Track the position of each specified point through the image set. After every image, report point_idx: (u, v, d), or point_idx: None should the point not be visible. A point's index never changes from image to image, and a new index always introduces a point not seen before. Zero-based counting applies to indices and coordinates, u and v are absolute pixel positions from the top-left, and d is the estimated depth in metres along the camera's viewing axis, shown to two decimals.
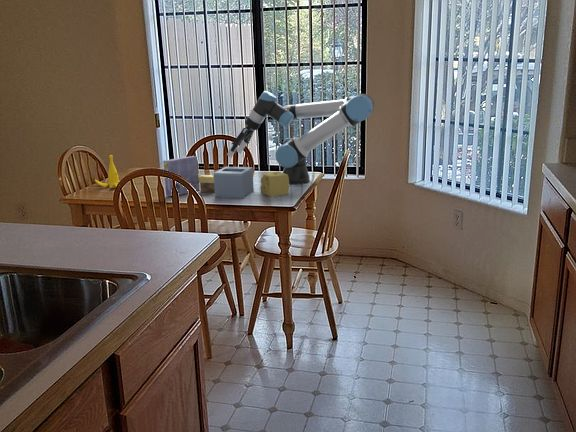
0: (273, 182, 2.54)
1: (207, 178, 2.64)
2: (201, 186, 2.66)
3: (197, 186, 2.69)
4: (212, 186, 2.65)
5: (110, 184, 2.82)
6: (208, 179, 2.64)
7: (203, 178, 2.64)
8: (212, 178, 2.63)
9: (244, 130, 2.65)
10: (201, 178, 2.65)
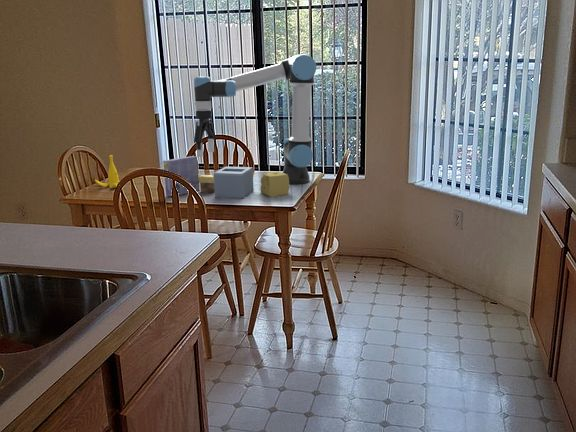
0: (273, 182, 2.54)
1: (207, 178, 2.64)
2: (201, 186, 2.66)
3: (197, 186, 2.69)
4: (212, 186, 2.65)
5: (110, 184, 2.83)
6: (208, 179, 2.64)
7: (203, 178, 2.64)
8: (212, 178, 2.63)
9: (198, 123, 2.52)
10: (201, 178, 2.65)
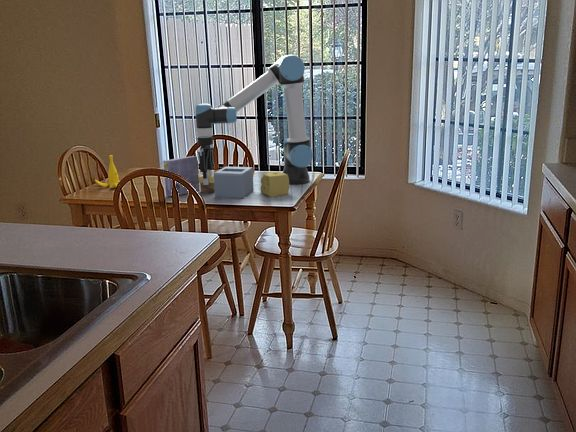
0: (273, 182, 2.54)
1: None
2: (201, 186, 2.66)
3: (197, 186, 2.69)
4: (212, 186, 2.65)
5: (110, 184, 2.83)
6: None
7: None
8: (212, 178, 2.63)
9: (200, 153, 2.56)
10: (201, 178, 2.65)
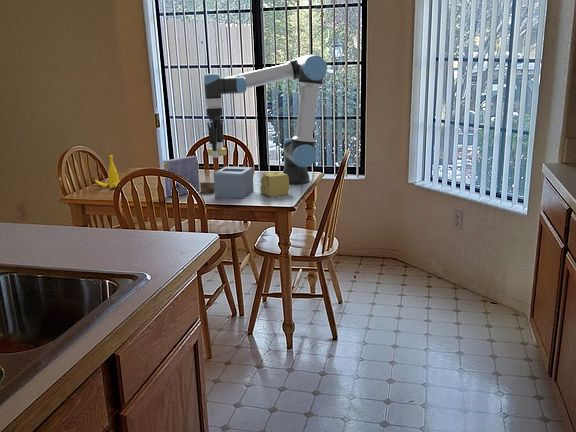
0: (273, 182, 2.54)
1: None
2: (201, 186, 2.66)
3: (197, 186, 2.69)
4: (212, 186, 2.65)
5: (110, 184, 2.83)
6: (218, 151, 2.58)
7: None
8: (222, 150, 2.57)
9: (209, 124, 2.50)
10: (210, 151, 2.58)
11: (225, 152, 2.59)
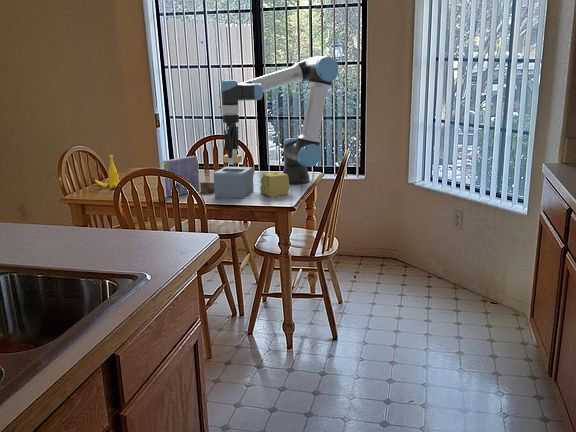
0: (273, 182, 2.54)
1: None
2: (201, 186, 2.66)
3: (197, 186, 2.69)
4: (212, 186, 2.65)
5: (110, 184, 2.83)
6: None
7: None
8: (237, 157, 2.54)
9: (226, 131, 2.47)
10: (226, 157, 2.55)
11: (240, 159, 2.56)
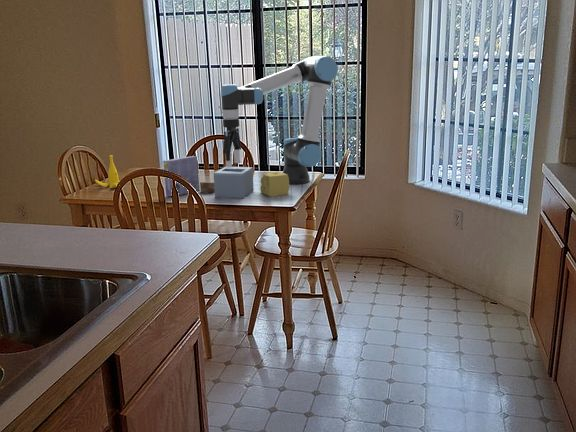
0: (273, 182, 2.54)
1: None
2: (201, 186, 2.66)
3: (197, 186, 2.69)
4: (212, 186, 2.65)
5: (110, 184, 2.83)
6: None
7: None
8: None
9: (226, 133, 2.47)
10: None
11: None
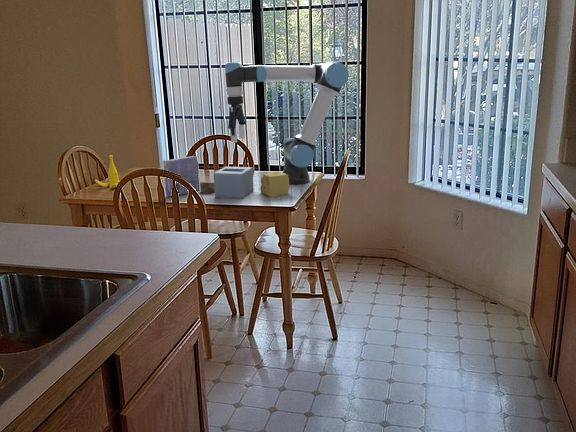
0: (273, 182, 2.54)
1: None
2: (201, 186, 2.66)
3: (197, 186, 2.69)
4: (212, 186, 2.65)
5: (110, 184, 2.83)
6: None
7: None
8: None
9: (231, 109, 2.52)
10: None
11: None
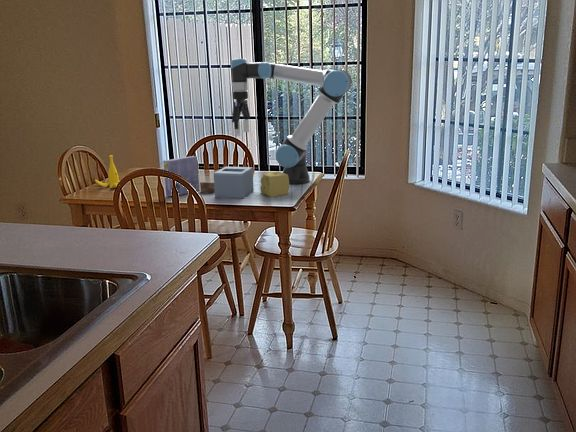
0: (273, 182, 2.54)
1: None
2: (201, 186, 2.66)
3: (197, 186, 2.69)
4: (212, 186, 2.65)
5: (110, 184, 2.83)
6: None
7: None
8: None
9: (235, 103, 2.62)
10: None
11: None
